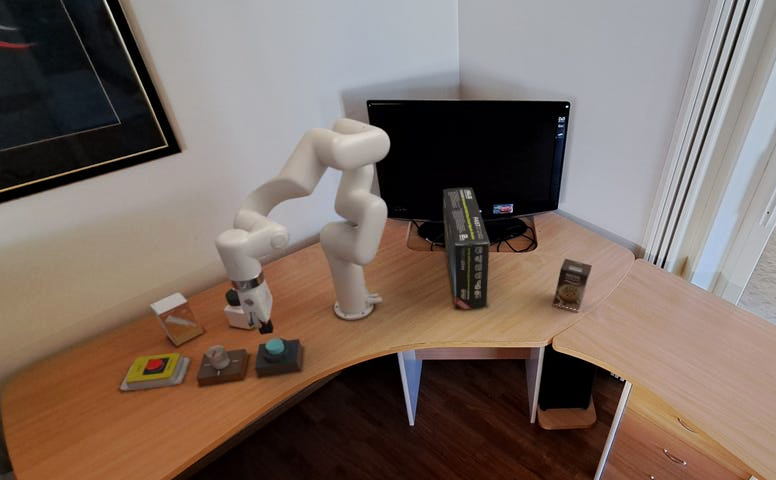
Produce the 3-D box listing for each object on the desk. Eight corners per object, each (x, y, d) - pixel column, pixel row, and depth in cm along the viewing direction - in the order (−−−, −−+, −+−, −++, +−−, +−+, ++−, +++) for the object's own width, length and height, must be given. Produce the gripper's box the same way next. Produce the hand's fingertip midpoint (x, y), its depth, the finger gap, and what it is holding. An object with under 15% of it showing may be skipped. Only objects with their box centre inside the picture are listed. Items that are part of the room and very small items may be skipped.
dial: (214, 358, 125) (207, 345, 121) (231, 356, 125) (225, 343, 122) (210, 370, 121) (203, 357, 118) (228, 368, 122) (221, 355, 119)
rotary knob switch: (248, 355, 130) (245, 348, 128) (243, 379, 123) (239, 372, 121) (207, 361, 128) (203, 353, 126) (200, 385, 121) (195, 378, 119)
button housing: (302, 348, 133) (297, 334, 129) (300, 371, 126) (294, 357, 122) (263, 353, 131) (257, 339, 127) (258, 377, 124) (252, 363, 120)
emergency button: (174, 373, 118) (111, 381, 116) (181, 383, 121) (120, 391, 119) (184, 348, 125) (125, 354, 123) (190, 358, 128) (133, 365, 126)
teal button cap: (285, 342, 127) (283, 337, 125) (283, 353, 123) (281, 348, 122) (268, 344, 126) (266, 339, 124) (266, 356, 123) (264, 351, 121)
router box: (443, 250, 173) (441, 187, 156) (471, 248, 175) (472, 186, 157) (455, 311, 147) (454, 244, 129) (487, 308, 149) (492, 242, 131)
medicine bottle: (251, 330, 137) (238, 301, 130) (230, 326, 138) (217, 297, 131) (264, 314, 143) (253, 286, 135) (244, 311, 144) (232, 282, 136)
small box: (177, 347, 131) (157, 315, 123) (168, 336, 134) (148, 304, 126) (204, 332, 136) (187, 300, 128) (195, 322, 139) (178, 291, 131)
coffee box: (552, 306, 151) (559, 268, 140) (557, 294, 155) (564, 257, 145) (578, 313, 148) (588, 275, 138) (582, 302, 153) (592, 264, 142)
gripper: (259, 295, 103) (278, 349, 115) (267, 259, 114) (284, 311, 126) (224, 299, 101) (247, 353, 113) (236, 261, 113) (256, 315, 124)
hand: (267, 331), depth 120 cm, fingers closed
